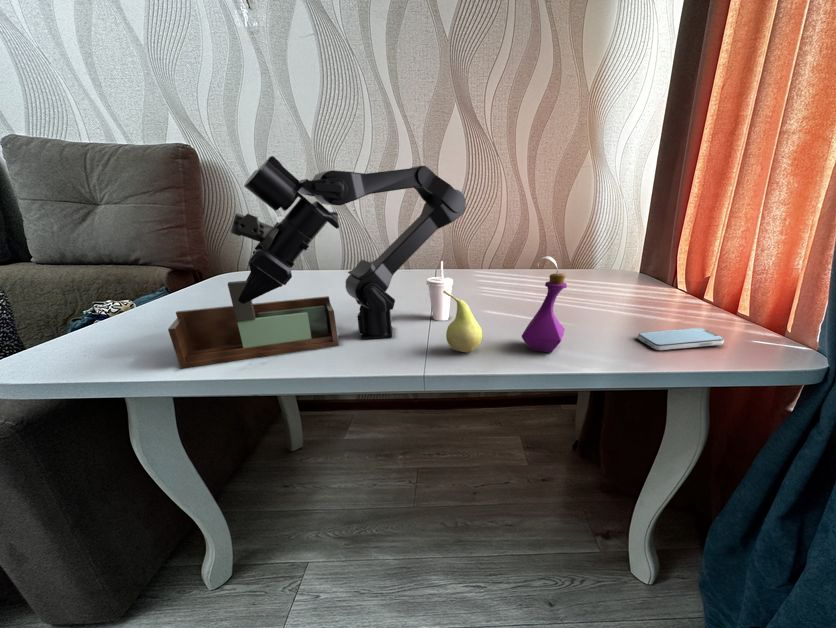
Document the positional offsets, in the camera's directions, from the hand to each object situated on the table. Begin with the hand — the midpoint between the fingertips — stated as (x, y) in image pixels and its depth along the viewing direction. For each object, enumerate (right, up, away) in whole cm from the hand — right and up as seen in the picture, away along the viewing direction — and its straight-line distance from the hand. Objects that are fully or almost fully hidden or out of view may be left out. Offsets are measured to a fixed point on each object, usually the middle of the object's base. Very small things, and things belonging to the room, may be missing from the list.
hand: (242, 295), depth 68 cm
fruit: (+40, -10, +6) cm, 41 cm away
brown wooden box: (+1, -10, +7) cm, 12 cm away
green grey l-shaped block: (+4, -9, +6) cm, 11 cm away
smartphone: (+85, -8, +11) cm, 86 cm away
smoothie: (+34, -2, +26) cm, 43 cm away
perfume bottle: (+56, -9, +8) cm, 57 cm away
